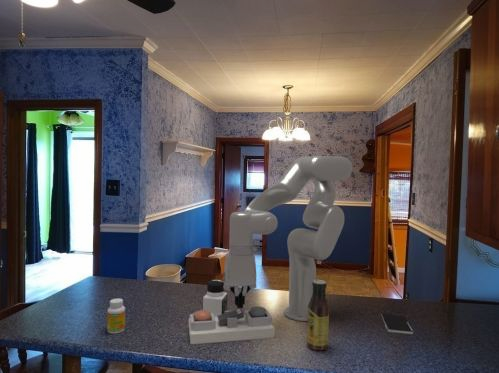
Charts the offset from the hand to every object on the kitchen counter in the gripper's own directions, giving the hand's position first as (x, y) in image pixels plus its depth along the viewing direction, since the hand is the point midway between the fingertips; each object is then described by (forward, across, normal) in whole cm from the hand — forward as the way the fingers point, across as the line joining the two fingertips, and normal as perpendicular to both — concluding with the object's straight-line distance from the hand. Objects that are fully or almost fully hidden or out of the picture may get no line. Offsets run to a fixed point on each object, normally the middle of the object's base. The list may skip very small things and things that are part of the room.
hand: (239, 306), depth 115 cm
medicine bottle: (+8, +6, -16) cm, 19 cm away
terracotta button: (+4, +12, 0) cm, 12 cm away
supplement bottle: (+9, +39, -8) cm, 41 cm away
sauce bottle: (+8, -21, +14) cm, 27 cm away
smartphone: (+9, -55, +3) cm, 56 cm away
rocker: (+3, +3, 0) cm, 4 cm away
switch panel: (+8, +3, 0) cm, 9 cm away
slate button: (+4, -6, 0) cm, 7 cm away
